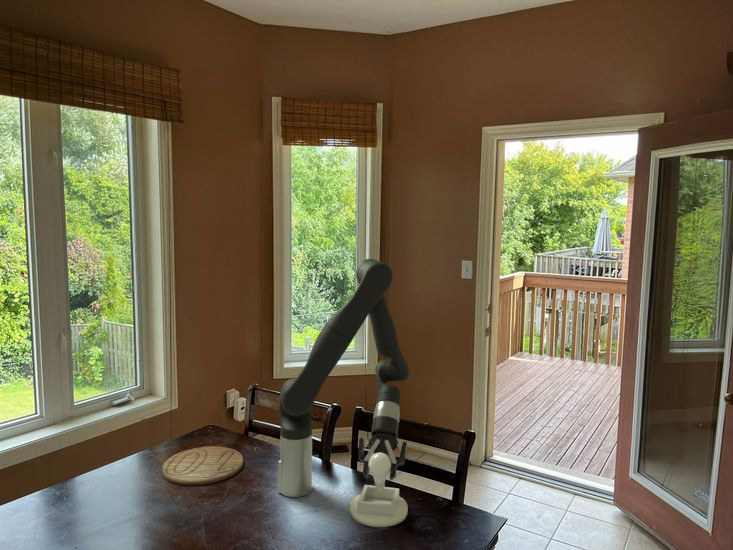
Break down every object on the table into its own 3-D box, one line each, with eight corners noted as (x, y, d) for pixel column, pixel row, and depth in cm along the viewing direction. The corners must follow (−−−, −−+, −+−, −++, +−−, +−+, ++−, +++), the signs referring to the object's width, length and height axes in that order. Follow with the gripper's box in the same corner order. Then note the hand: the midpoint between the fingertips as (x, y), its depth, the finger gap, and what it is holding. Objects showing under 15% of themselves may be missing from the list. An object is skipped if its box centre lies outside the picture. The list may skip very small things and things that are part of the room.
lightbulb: (389, 498, 141) (389, 459, 140) (366, 496, 143) (366, 457, 142) (392, 487, 148) (393, 449, 147) (370, 485, 149) (370, 447, 148)
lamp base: (343, 523, 139) (344, 506, 139) (356, 493, 155) (356, 478, 154) (403, 530, 136) (404, 513, 136) (410, 499, 152) (410, 484, 151)
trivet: (250, 452, 183) (250, 446, 183) (232, 487, 158) (232, 481, 158) (178, 451, 183) (178, 445, 183) (149, 486, 158) (149, 480, 158)
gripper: (360, 412, 152) (350, 470, 141) (409, 416, 149) (403, 475, 139) (363, 423, 158) (355, 480, 147) (411, 427, 155) (406, 485, 144)
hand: (378, 477), depth 143 cm, fingers closed on lightbulb, 6 cm apart
